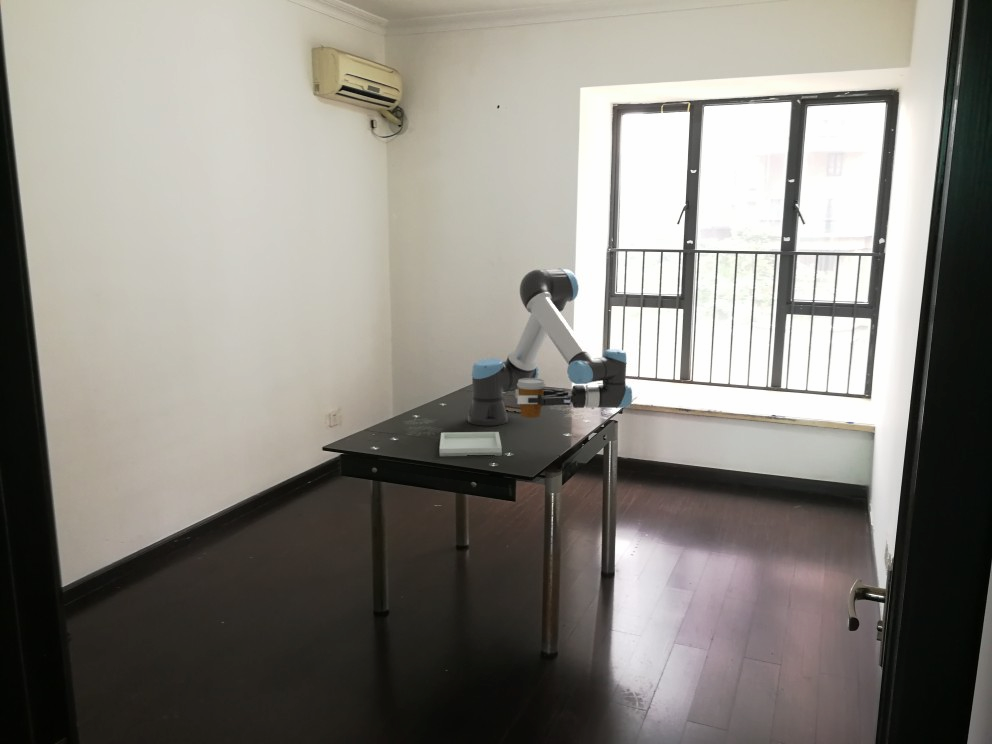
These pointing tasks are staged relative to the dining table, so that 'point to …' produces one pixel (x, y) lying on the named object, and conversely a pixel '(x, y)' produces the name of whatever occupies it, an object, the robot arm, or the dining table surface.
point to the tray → (470, 443)
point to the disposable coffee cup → (530, 388)
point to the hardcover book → (512, 404)
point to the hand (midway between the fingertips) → (516, 396)
